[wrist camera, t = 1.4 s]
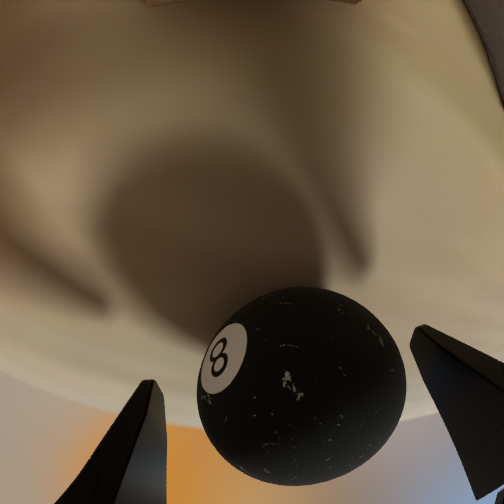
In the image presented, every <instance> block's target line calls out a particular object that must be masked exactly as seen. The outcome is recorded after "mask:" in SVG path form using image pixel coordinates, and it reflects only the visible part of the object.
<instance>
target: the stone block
mask: <svg viewBox="0 0 504 504" xmlns="http://www.w3.org/2000/svg"><path fill="white" fill-rule="evenodd" d="M463 1H464V3H465V5H466V7H467V8H468V10H469V12H470V14H471V16H472V18H473V20H474V23H475V25H476V27H477V30H478V32H479V34H480V36H481V38H482V40H483V42H484V45H485V47H486V50H487V52H488V55H489V59H490V62H491V65H492V68H493V71H494V74H495V77H496V80H497V84H498V87H499V91H500V94H501V96H502V99H503V101H504V0H463Z"/></svg>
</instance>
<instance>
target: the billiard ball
mask: <svg viewBox="0 0 504 504" xmlns="http://www.w3.org/2000/svg"><path fill="white" fill-rule="evenodd" d="M405 398H406V375H405V368H404V364H403V360H402V358H401V355H400V352H399V349H398V347H397V345H396V343H395V341H394V340H393V338H392V336H391V335H390V333H389V332H388V330H387V329H386V328H385V327H384V325H383V324H382V323H381V322H380V321H379V320H378V319H377V318H376V317H375V316H374V315H373V314H372V313H371V312H370V311H369V310H367V309H366V308H365V307H363V306H362V305H360V304H359V303H357V302H356V301H354V300H352V299H350V298H348V297H346V296H344V295H342V294H339V293H336V292H333V291H330V290H326V289H321V288H314V287H292V288H286V289H281V290H277V291H274V292H271V293H268V294H265V295H263V296H261V297H259V298H257V299H255V300H253V301H251V302H250V303H248V304H247V305H245V306H244V307H242V308H241V309H239V310H238V311H237V312H236V313H234V314H233V315H232V316H231V317H230V318H229V319H228V320H227V321H226V322H225V323H224V324H223V326H222V327H221V328H220V329H219V331H218V332H217V334H216V335H215V337H214V338H213V340H212V341H211V343H210V345H209V347H208V349H207V351H206V353H205V356H204V358H203V361H202V364H201V368H200V372H199V376H198V382H197V404H198V411H199V416H200V419H201V422H202V425H203V427H204V430H205V432H206V434H207V436H208V438H209V440H210V441H211V443H212V444H213V446H214V447H215V448H216V450H217V451H218V452H219V453H220V455H221V456H222V457H223V458H224V459H225V460H226V461H228V462H229V463H230V464H231V465H232V466H234V467H235V468H236V469H238V470H240V471H241V472H243V473H244V474H247V475H248V476H251V477H253V478H256V479H258V480H261V481H264V482H267V483H272V484H277V485H285V486H302V485H311V484H316V483H321V482H325V481H329V480H332V479H335V478H337V477H340V476H342V475H345V474H347V473H349V472H351V471H352V470H354V469H356V468H357V467H359V466H361V465H362V464H363V463H365V462H366V461H368V460H369V459H370V458H371V457H372V456H373V455H375V454H376V453H377V452H378V451H379V450H380V449H381V447H382V446H383V445H384V444H385V443H386V441H387V440H388V439H389V437H390V436H391V435H392V433H393V431H394V430H395V428H396V426H397V424H398V422H399V419H400V417H401V414H402V411H403V408H404V404H405Z"/></svg>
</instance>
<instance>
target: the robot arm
mask: <svg viewBox="0 0 504 504" xmlns="http://www.w3.org/2000/svg"><path fill="white" fill-rule="evenodd" d="M410 349H411V352H412V354H413V356H414V359H415V361H416V364H417V366H418V369H419V371H420V374H421V376H422V378H423V381H424V383H425V385H426V387H427V389H428V391H429V393H430V395H431V397H432V399H433V401H434V403H435V405H436V407H437V409H438V411H439V413H440V415H441V417H442V419H443V421H444V423H445V425H446V427H447V430H448V432H449V434H450V436H451V439H452V441H453V443H454V445H455V447H456V450H457V452H458V455H459V457H460V459H461V461H462V465H463V467H464V470H465V472H466V475H467V477H468V480H469V482H470V485H471V488H472V491H473V493H474V496H475V498H476V500H479V499H481V498H482V497H484V496H486V495H487V494H489V493H491V492H492V491H494V490H496V489H497V488H499V487H500V486H502V485H503V484H504V363H503V362H501V361H498V360H497V359H495V358H493V357H491V356H489V355H487V354H485V353H483V352H481V351H479V350H477V349H475V348H473V347H471V346H469V345H467V344H465V343H463V342H461V341H459V340H457V339H455V338H453V337H451V336H448V335H446V334H444V333H442V332H440V331H438V330H436V329H434V328H432V327H430V326H428V325H426V324H423V325H420V326H417V327H416V328H415V329H414V332H413V335H412V338H411V341H410ZM166 465H167V432H166V420H165V405H164V396H163V393H162V392H161V390H160V388H159V386H158V384H157V382H156V381H155V380H153V379H151V380H143V381H142V382H141V383H140V384H139V386H138V387H137V389H136V390H135V392H134V393H133V395H132V396H131V398H130V399H129V400H128V402H127V403H126V405H125V406H124V408H123V409H122V411H121V412H120V414H119V415H118V417H117V418H116V420H115V421H114V423H113V424H112V425H111V427H110V429H109V430H108V431H107V433H106V434H105V436H104V437H103V439H102V440H101V442H100V443H99V445H98V446H97V448H96V449H95V451H94V452H93V454H92V455H91V457H90V459H89V460H88V461H87V463H86V464H85V466H84V467H83V469H82V470H81V471H80V473H79V474H78V476H77V477H76V479H75V480H74V481H73V482H72V483H71V485H70V486H69V487H68V488H67V490H66V491H65V492H64V493H63V494H62V495H61V497H60V498H59V499H58V500H57V501H56V502H55V503H54V504H166ZM495 504H504V488H503V489H502V490H501V491H499V492H498V494H497V497H496V501H495Z"/></svg>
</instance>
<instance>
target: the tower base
mask: <svg viewBox="0 0 504 504" xmlns="http://www.w3.org/2000/svg"><path fill="white" fill-rule="evenodd" d="M177 1H183V0H145V2H146V4H147V5H148V7H151V6H155V5H160V4H166V3H171V2H177ZM332 1H338V2H344V3H350V4H357V3H358V2H360V1H362V0H332Z"/></svg>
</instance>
